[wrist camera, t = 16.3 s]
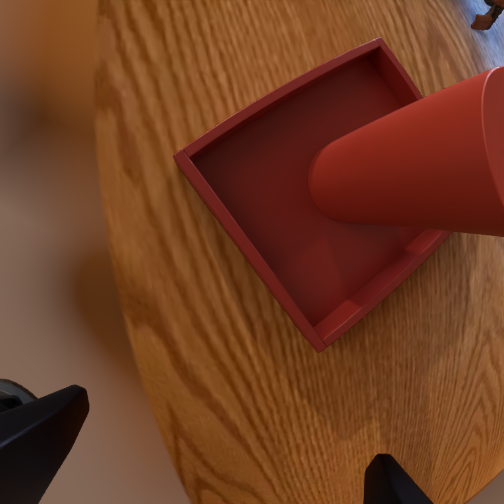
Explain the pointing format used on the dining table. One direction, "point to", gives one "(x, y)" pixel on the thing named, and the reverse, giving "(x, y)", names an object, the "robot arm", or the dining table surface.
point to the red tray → (298, 195)
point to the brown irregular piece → (488, 15)
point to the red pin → (422, 164)
